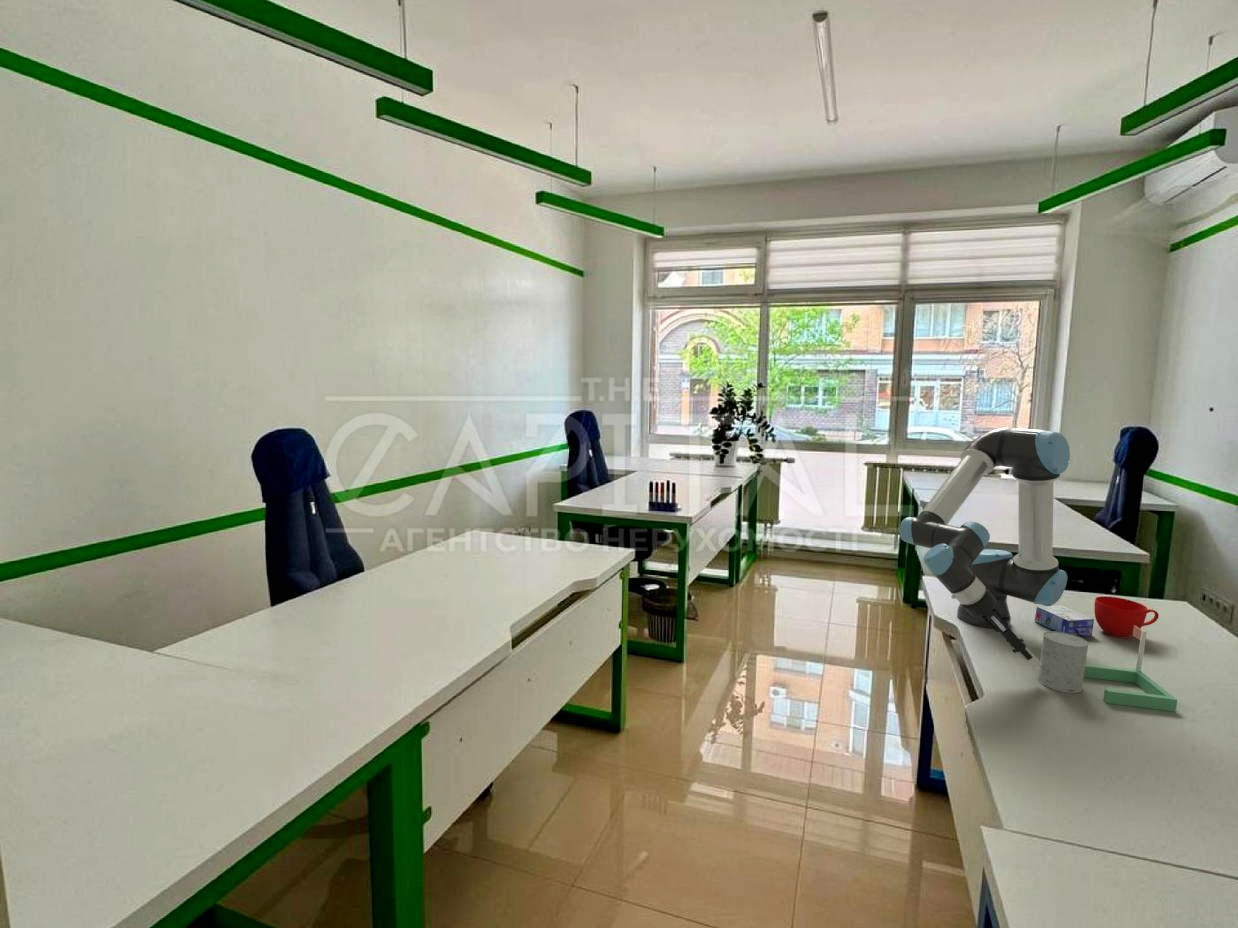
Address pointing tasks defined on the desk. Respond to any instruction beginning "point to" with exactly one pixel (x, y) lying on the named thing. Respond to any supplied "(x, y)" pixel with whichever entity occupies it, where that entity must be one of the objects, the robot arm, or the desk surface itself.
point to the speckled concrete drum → (1063, 661)
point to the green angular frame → (1155, 693)
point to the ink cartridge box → (1064, 620)
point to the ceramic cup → (1120, 616)
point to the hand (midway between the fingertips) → (1036, 666)
